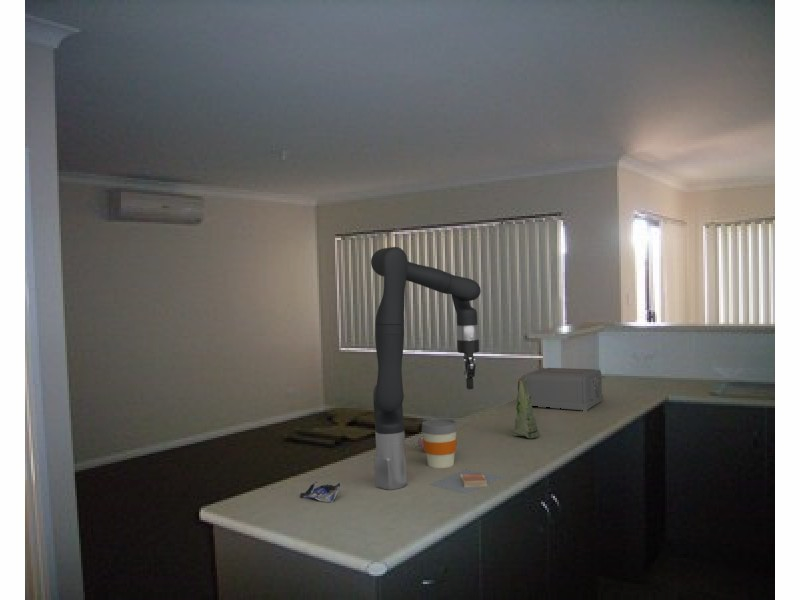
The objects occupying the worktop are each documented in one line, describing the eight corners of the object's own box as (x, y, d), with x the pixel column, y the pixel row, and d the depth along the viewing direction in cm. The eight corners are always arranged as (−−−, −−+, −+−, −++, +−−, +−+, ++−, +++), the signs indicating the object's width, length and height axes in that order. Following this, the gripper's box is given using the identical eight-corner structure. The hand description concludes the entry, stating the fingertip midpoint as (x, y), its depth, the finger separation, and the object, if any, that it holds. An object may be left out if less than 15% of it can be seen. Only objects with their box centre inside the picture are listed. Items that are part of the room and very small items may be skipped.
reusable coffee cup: (417, 469, 208) (416, 425, 208) (429, 459, 220) (427, 418, 219) (452, 471, 203) (451, 427, 203) (463, 461, 215) (461, 419, 215)
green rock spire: (523, 441, 240) (520, 378, 240) (506, 435, 251) (503, 375, 251) (545, 437, 245) (543, 375, 244) (528, 431, 255) (525, 372, 255)
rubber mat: (467, 495, 179) (467, 493, 179) (428, 485, 189) (428, 484, 189) (504, 478, 194) (504, 476, 194) (466, 470, 204) (466, 469, 204)
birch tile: (482, 478, 193) (487, 486, 185) (460, 479, 193) (464, 487, 185) (482, 472, 193) (486, 479, 185) (460, 473, 193) (464, 481, 185)
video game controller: (436, 450, 238) (428, 433, 240) (444, 446, 235) (437, 429, 237) (421, 456, 230) (414, 439, 232) (429, 452, 227) (422, 434, 229)
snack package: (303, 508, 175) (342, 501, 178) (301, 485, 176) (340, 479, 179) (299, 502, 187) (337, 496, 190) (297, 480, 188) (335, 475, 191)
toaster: (594, 412, 289) (592, 376, 289) (524, 407, 309) (522, 374, 309) (611, 401, 315) (609, 368, 315) (545, 397, 334) (544, 366, 334)
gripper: (454, 337, 213) (456, 386, 213) (459, 340, 200) (461, 392, 200) (475, 336, 213) (477, 385, 213) (482, 339, 200) (484, 391, 200)
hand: (470, 388), depth 207 cm, fingers closed
